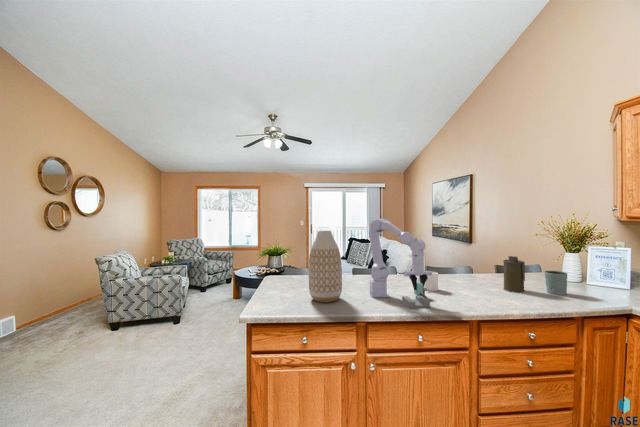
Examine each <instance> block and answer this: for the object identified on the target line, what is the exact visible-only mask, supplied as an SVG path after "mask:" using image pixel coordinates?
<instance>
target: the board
mask: <svg viewBox="0 0 640 427" xmlns="http://www.w3.org/2000/svg"><path fill="white" fill-rule="evenodd" d="M401 299H402V300H401V303H403V305H404V306H406V307H408V308H409V309H418V308H419V309H420V308H423V309H424V308H431V301H430V300H429V299H428V298H427V299H426V298H424V297H422V296H417V295H415V298H414V299H413V298H411V297H410V296H408V295H406V296H405V295H404V296H402V297H401Z"/></svg>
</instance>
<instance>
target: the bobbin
mask: <svg viewBox="0 0 640 427" xmlns="http://www.w3.org/2000/svg"><path fill="white" fill-rule="evenodd" d="M425 292H427V288H423V297H424V298H426V299H427V300H428V296H427V295H426V293H425Z"/></svg>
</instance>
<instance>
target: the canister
mask: <svg viewBox="0 0 640 427" xmlns="http://www.w3.org/2000/svg"><path fill="white" fill-rule="evenodd" d="M507 258H508V259H504V260H502V262H503V290H504V291H507V292H510V293H519V294H520V293H524V292H525V291H526V290H525V281H526V272H525V271H526V269H525V268H526V265H525V264H526V263H525V261H523V260H520V259H519V258H518V256H513V255H508V257H507Z"/></svg>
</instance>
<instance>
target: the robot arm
mask: <svg viewBox="0 0 640 427" xmlns="http://www.w3.org/2000/svg"><path fill="white" fill-rule="evenodd" d="M385 230H387V231H388V232H390V233H393V234H394V235H396V236H397V237H398V238H399V240H400V241H401V242H402V243H403V244H405V245H406V246H407V247H409V248H410V250H411V253H412V254H411V261H412V266H411V267H412V268H411V270H412V271H411V270H410V271H409V270H408V271H404V272H403V276H404V277H409V279H410V281H411V284H412V288H413V291H414V290H417V282H418V277H419V278H420V283H422V284H423V288H424V285H425V282H426V280H427V279H428V276H427V275H432V272H433V271H432V270H425V261H424V260H425V256H424V255H425V254H424V253H425V252H424V251H425V249H426V243H425V241H424V240H422V239H418V238H419V237H415V236H414V235H412V234H411V232H410V231H402V229H400V228H398V227H397V226H396V225H394V224H393V223H392V222H391V221H389V220H387V219H386V218H373V219H372V221H370V223H369V231H368V236H369V242H370V249H371V250H370V251H371V253H372V261H373V264H372V267H371V273H370V274H371V278H372V279H371V280H369V295H370V296H371V297H372V298H389V297H390V295H389V294H388V293H387V292H388V288H387V286H388V285H387V284H388V283H387V280H388V277H389V276H390V273H389V270H388V267H387V265H386V263H385V262H384V260H383V259H384V258H383V253H382V252H383V251H382V248H381V246H382V245H381V241H380V235H381V233H382V232H384V231H385ZM417 276H418V277H417Z"/></svg>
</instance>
